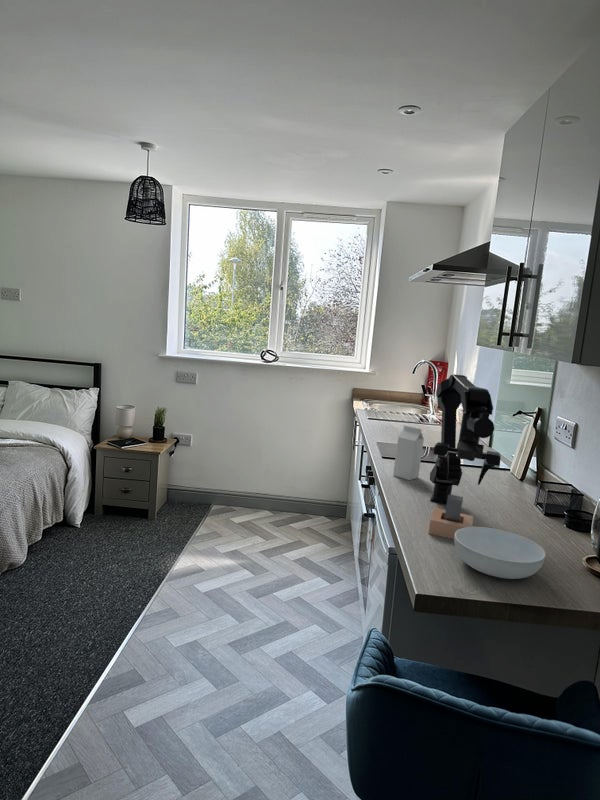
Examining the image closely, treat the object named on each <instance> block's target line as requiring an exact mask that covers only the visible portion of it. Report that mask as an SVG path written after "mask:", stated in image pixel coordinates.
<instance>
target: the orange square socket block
mask: <svg viewBox="0 0 600 800" xmlns="http://www.w3.org/2000/svg"><path fill="white" fill-rule="evenodd" d="M445 512H446V509H441V508H437V507H434V509H433V512H432V514H431V517H430V520H429V528H428V533H430V534H429V535H433V534H435V535H434V536H437V535H439V536H438V537H441V536H444V537H443V538H446V537H448V538H447V539H450V538H452V540H454V535H455V532H456V531H457V530H459V529H462V528H467V527H473V522H474V515H471V514H470V515H469V514H465V513H461V514H460V520H459V523H457V522H452V521H448V520H444V518H445Z"/></svg>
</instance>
